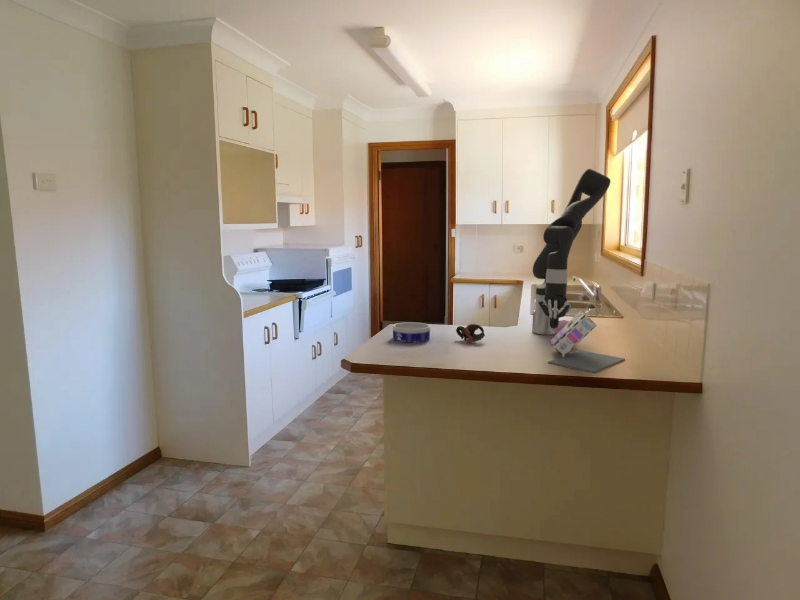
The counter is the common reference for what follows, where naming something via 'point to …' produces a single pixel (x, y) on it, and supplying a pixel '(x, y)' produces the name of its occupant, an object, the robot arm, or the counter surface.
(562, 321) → the cupcake
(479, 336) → the brown curled figurine
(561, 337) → the candy box
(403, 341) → the dog bowl
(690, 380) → the counter surface
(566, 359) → the mat
